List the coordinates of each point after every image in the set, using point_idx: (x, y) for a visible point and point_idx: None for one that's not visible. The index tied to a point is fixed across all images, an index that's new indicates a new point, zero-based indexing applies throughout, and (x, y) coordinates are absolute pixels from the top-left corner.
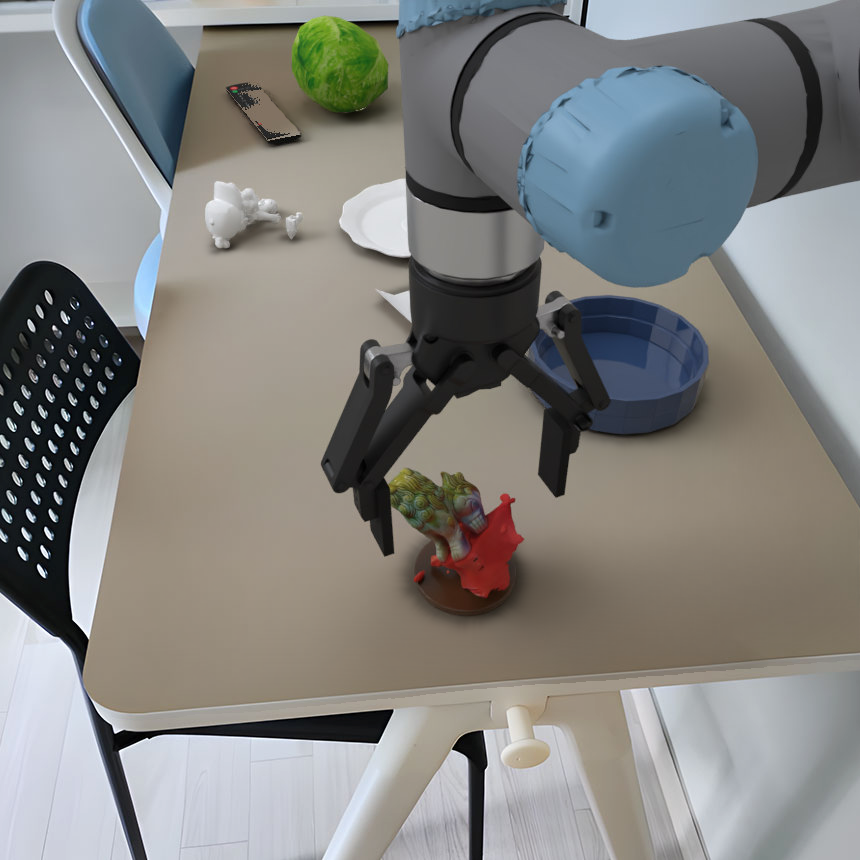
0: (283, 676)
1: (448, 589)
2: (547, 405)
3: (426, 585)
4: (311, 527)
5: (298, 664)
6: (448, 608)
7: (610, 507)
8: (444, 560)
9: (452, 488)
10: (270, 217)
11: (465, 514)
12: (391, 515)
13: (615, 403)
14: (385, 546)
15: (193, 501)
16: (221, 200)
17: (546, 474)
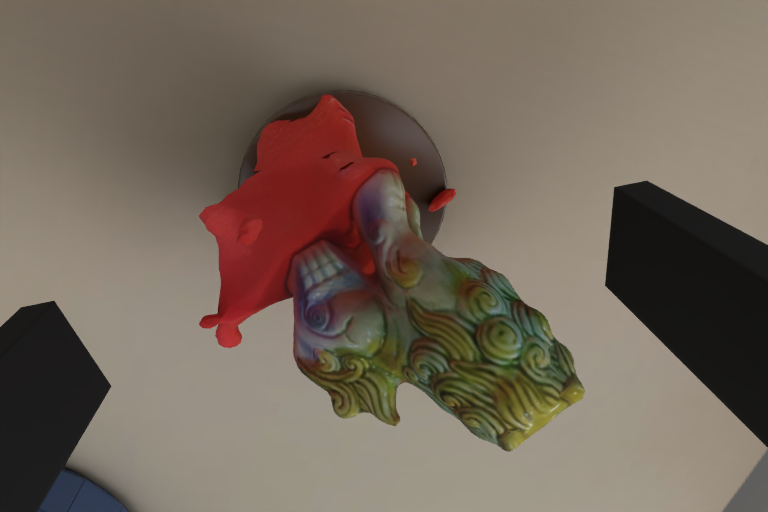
0: (747, 36)
1: (391, 160)
2: (117, 509)
3: (431, 179)
4: (574, 335)
5: (711, 58)
6: (404, 112)
7: (7, 296)
8: (409, 200)
9: (373, 373)
10: None
11: (351, 294)
12: (764, 276)
13: None
14: (669, 199)
15: (713, 400)
16: None
17: (65, 384)
